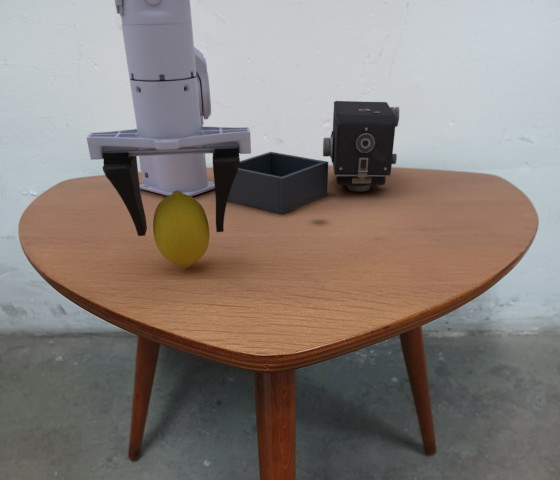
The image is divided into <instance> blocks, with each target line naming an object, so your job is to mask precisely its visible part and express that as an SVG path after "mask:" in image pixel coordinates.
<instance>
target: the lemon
mask: <svg viewBox="0 0 560 480" xmlns="http://www.w3.org/2000/svg"><path fill="white" fill-rule="evenodd" d="M152 219H153V221H152V231H153V237H154V238H153V239H154V240H155V244H156V248H157V250H158V251H159V252H160V254H161V256H163V257H164V258H165V259H166V260H167V261H169V263H173V264H175V265H178V266H180V267H181V268H182V269H186V270H187V269H189V268H190V267H191V266H192V264H194V263H197V262H199V261H200V259H202V257H204V255H205V253H206V252H207V250H208V247H209V245H210V234H211V233H210V225H209V220H208V217H207V214H206V212H205V209H204V208H203V206H202V205H201V203H200V202H199V201H198V200H196V198H194V197H193V196H189V195H186V194H183V193H182V192H181V191H174V192H173V193H172V194H171V195H169V196H166V197H164V198H163V199H161V201H160V202H158V205H157V206H156V208H155V211H154V213H153V218H152Z"/></svg>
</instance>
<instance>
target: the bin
mask: <svg viewBox="0 0 560 480" xmlns="http://www.w3.org/2000/svg"><path fill="white" fill-rule="evenodd" d="M328 183H329V161H326V160H320V159H315V158H309V157H303V156H297V155H292V154H285V153H281V152H274V151H268V152H266V153H262V154H260V155H256V156H253V157H252V156H251V157H249V158H246V159H243V160H240V165H239V168H238V171H237V174H236V176H235V178H234V181H233V184H232V187H231V190H230V193H229V197H228V200H227V202H228V201H229V202H231V203H232V202H233V203H237V204H240V205H245V206H248V207H253V208H256V209H261V210H265V211H268V212H273V213H277V214H281V215H284V214H286V213H289V212H291V211H293V210H295V209H298V208H300V207H303V206H305V205H307V204H310V203H312V202H314V201H316V200H319V199H321V198H323V197H325V196H327V195H328V188H329V187H328V185H329V184H328Z"/></svg>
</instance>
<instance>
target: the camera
mask: <svg viewBox="0 0 560 480" xmlns="http://www.w3.org/2000/svg"><path fill="white" fill-rule="evenodd" d="M332 113H333V115H332V117H333V118H332V130H331V133H330V137H323V139H322V140H323V141H322V143H323V144H322V157H326V158H327V157H330V160H331V164H332V167H333V175H334V177H335V180H336V184H337V185H341V186H342V187H345V185H346V186H347V190H349V191H351V192H367V191H369V190H370V187H372V186H384V185H385V184H386V179H387V178H388V177H389V178H390V176H391V174H392V168H393V167H392V166H393V165H397V159H398V155H397V153H393V152H394V146H395V145H394V143H395V135H396V134H395V132H396V128H397V127H398V126H399V121H400V106H395V107H394V106H390V105H389V103H388V102H387V101H354V100H353V101H351V100H335V101H333V112H332Z"/></svg>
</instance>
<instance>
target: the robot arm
mask: <svg viewBox="0 0 560 480" xmlns="http://www.w3.org/2000/svg"><path fill="white" fill-rule="evenodd" d="M114 3H115V10H116V14H117V15H119V16H120V19H121V30H122V37H123V43H124V51H125V58H126V64H127V65H126V66H127V70H128V77H129V85H130V92H131V98H132V104H133V105H132V106H133V111H134V118H135V125H136V128H134V129H124V130H112V131H111V130H110V131H101V132H100V131H99V132H90V133H89V134H88V135H87V136H86V142H87V149H88V152H89V157H90V160H91V161H92V160H93V161H94V160H103V161H102V162H103V165H102V171H103V173H104V176H105V178H107V180H108V181H109V182H110V184H111V185H112V187H113V188H114V189H115V191H116V192H117V194H118V196H119V197H120V199H121V200H122V202H123V204H124V205H125V207H126V209H127V211H128V213H129V215H130V218H131V220H132V222H133V225H134V229H135V230H136V235H137V236H138V237H145V236H146V234H147V230H148V225H147V217H146V212H145V208H144V204H143V203H144V202H143V199H142V194H141V193H142V192H141V190H144V191H147V192H151V193H156V194H159V195H161V196H166V197H167V196H169V195H171V194H172V193H173V192H174V191H181V192H182V193H183V194H186V195H189V196H191V197H194V196H197V195H200V194H203V193H206V192H209V191H212V190H214V192H215V193H214V195H215V230H216V233H223V232H224V231H225V229H224V224H225V216H226V208H227V204H228V197H229V193H230V190H231V187H232V184H233V181H234V178H235V176H236V174H237V171H238V168H239V165H240V161H241V159H240V155H248V154H249V155H250V154H251V153H252V139H251V130H250V127H228V126H227V127H226V126H225V127H223V126H204V120H209V118H210V117H211V115H212V102H211V89H210V80H209V72H208V66H207V60H206V58H205V57H204V53H203V52H201V51H200V50H199V49H198V48H197V47H195V44H194V43H195V41H194V32H193V31H194V30H193V19H192V9H191V7H192V6H191V0H114ZM206 154H212V171H213V180H208V171H207V159H206V158H207V157H206ZM138 159H139V167H140V174H141V179H142V183H141V184H140V177H139V170H138Z"/></svg>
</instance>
